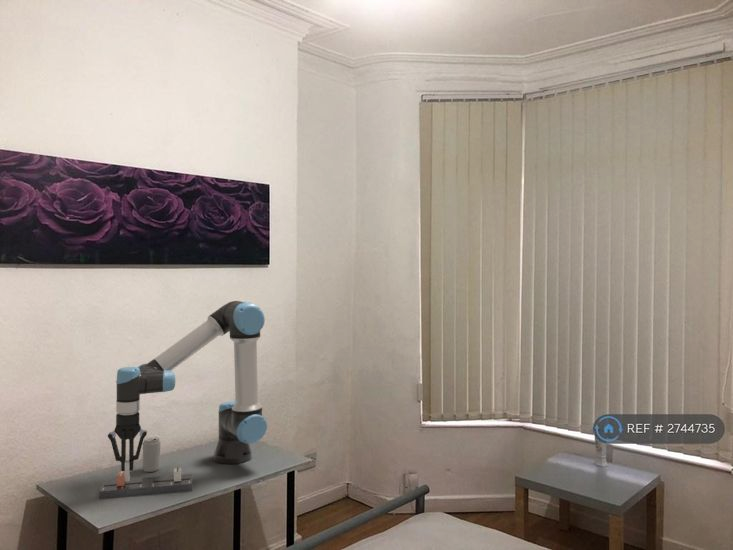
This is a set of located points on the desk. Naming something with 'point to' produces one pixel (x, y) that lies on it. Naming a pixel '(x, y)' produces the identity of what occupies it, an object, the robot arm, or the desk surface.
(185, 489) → the dark grey slider panel
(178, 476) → the fader grey
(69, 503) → the desk surface
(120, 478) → the fader red
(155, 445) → the beverage can
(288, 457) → the desk surface
